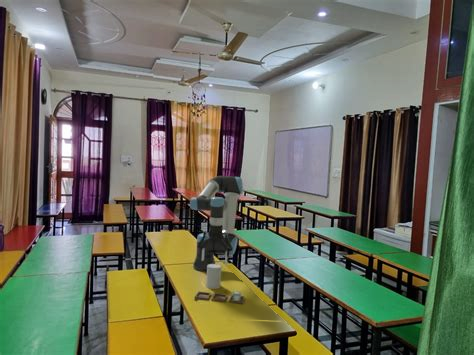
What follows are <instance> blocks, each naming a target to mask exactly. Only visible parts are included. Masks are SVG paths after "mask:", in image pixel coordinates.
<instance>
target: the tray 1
mask: <svg viewBox="0 0 474 355" xmlns="http://www.w3.org/2000/svg"><path fill="white" fill-rule="evenodd" d="M199 291H200V290H199ZM199 291H197V292H196V294H195V296H194V298H193V299H194V300H195V301H198V300H202V301H203V300H204V301H209V299H211V296H212V292H205V291H200V292H199Z"/></svg>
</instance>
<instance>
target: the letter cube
mask: <svg viewBox="0 0 474 355" xmlns="http://www.w3.org/2000/svg"><path fill="white" fill-rule="evenodd" d="M241 294H242V291H232V295H233V301H241V296H242V295H241Z"/></svg>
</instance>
